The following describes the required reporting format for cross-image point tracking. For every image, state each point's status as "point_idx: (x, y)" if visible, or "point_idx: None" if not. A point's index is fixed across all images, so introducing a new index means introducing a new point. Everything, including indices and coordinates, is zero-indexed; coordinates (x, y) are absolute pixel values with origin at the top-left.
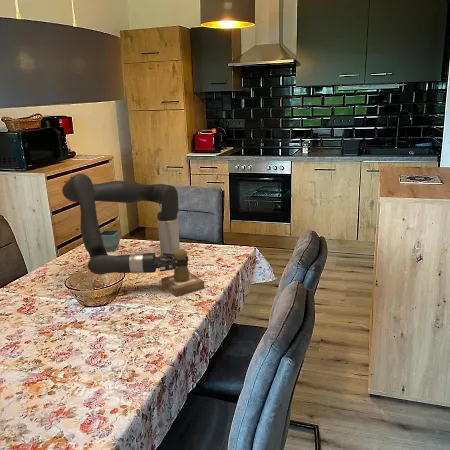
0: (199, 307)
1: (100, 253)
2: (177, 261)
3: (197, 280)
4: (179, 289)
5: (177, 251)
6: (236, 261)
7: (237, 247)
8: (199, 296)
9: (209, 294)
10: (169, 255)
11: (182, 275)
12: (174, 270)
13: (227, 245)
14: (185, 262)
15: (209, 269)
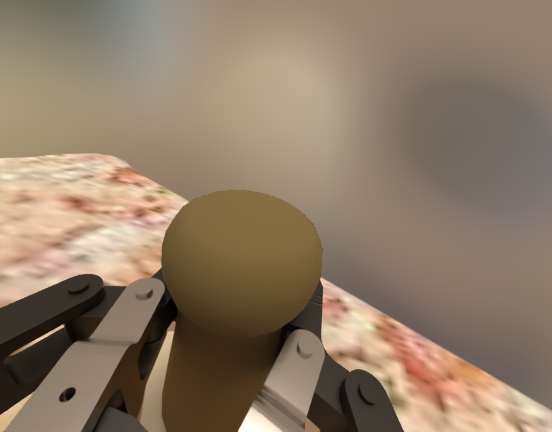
0: (457, 392)
1: None
2: (278, 332)
3: None
4: None
5: (282, 235)
6: (142, 190)
7: (55, 158)
8: (352, 357)
9: (337, 317)
10: (59, 379)
11: None
12: (218, 422)
13: (4, 159)
14: (320, 282)
15: (122, 244)
